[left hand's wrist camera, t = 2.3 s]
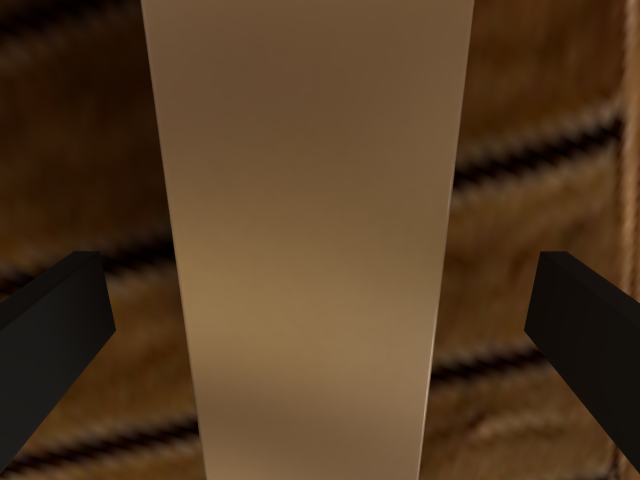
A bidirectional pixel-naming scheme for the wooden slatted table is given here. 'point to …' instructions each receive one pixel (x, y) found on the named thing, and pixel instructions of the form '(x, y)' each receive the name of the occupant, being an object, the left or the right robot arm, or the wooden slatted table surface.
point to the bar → (309, 222)
